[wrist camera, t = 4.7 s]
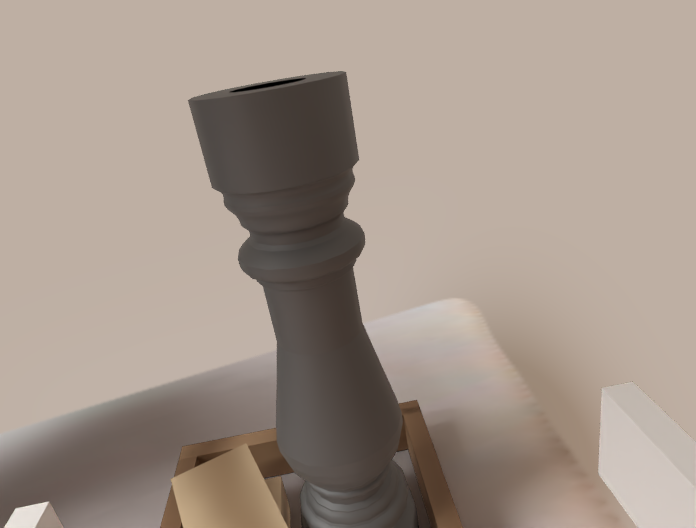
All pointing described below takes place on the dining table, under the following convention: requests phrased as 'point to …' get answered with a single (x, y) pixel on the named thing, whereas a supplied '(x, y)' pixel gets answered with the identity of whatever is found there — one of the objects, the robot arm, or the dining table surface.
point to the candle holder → (310, 290)
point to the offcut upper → (226, 494)
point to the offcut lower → (279, 497)
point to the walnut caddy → (273, 464)
